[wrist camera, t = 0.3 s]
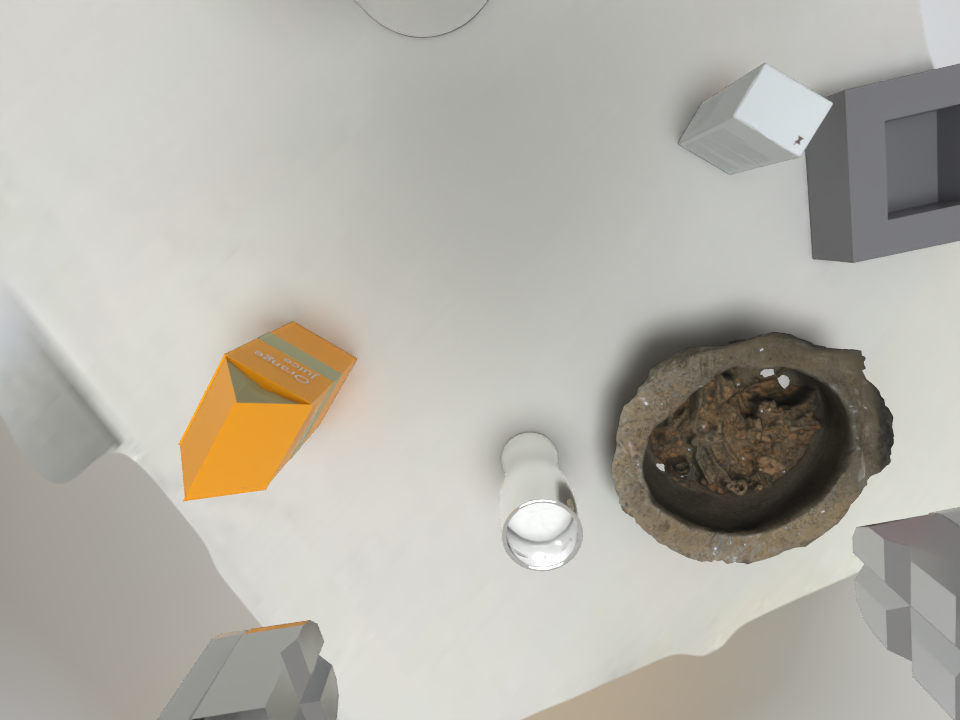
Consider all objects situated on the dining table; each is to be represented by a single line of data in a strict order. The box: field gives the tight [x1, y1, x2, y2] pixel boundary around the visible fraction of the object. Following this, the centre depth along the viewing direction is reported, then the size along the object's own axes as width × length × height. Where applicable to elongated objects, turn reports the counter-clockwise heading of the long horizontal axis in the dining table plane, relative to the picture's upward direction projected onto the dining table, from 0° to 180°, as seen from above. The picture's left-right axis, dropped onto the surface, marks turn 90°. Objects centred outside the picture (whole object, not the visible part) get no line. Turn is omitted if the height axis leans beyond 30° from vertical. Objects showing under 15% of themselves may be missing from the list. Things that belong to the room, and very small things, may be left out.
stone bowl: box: [612, 332, 894, 564], centre depth 52 cm, size 25×25×9 cm
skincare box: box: [678, 63, 833, 174], centre depth 44 cm, size 6×4×12 cm
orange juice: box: [179, 322, 357, 501], centre depth 46 cm, size 8×9×20 cm
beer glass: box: [498, 432, 583, 571], centre depth 50 cm, size 7×7×15 cm
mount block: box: [805, 64, 960, 263], centre depth 47 cm, size 14×14×6 cm
